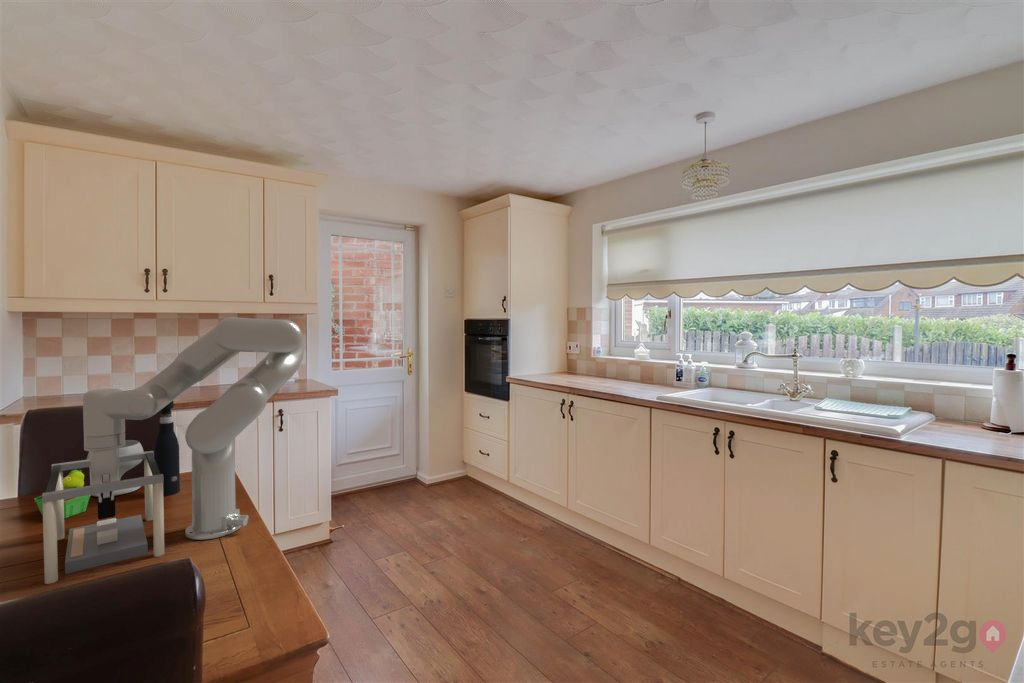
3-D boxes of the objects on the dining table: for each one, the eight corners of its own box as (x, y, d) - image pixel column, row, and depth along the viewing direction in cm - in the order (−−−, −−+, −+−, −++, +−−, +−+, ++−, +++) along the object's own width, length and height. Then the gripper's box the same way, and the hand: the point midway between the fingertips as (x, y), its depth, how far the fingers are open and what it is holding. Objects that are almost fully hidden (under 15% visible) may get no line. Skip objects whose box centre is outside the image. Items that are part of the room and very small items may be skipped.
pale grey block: (97, 539, 111) (96, 532, 111) (117, 535, 113) (117, 528, 113) (97, 545, 110) (97, 537, 109) (117, 540, 112) (117, 533, 112)
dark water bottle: (159, 490, 153) (157, 397, 152) (182, 488, 155) (181, 396, 154) (151, 497, 147) (149, 400, 146) (175, 495, 149) (173, 399, 147)
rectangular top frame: (52, 470, 118) (51, 463, 118) (152, 456, 131) (152, 450, 131) (42, 503, 97) (41, 495, 97) (163, 482, 110) (163, 475, 110)
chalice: (112, 501, 144) (111, 451, 143) (75, 497, 146) (73, 448, 146) (155, 485, 157) (154, 440, 157) (120, 482, 160) (119, 438, 160)
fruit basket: (32, 516, 132) (31, 476, 131) (68, 504, 140) (67, 466, 140) (63, 520, 129) (62, 479, 129) (98, 508, 138) (97, 469, 137)
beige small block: (97, 528, 117) (97, 521, 117) (116, 524, 119) (116, 517, 119) (97, 533, 116) (97, 526, 115) (116, 529, 118) (116, 522, 118)
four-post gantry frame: (53, 538, 119) (52, 470, 118) (154, 517, 132) (152, 456, 131) (44, 585, 98) (42, 503, 97) (164, 554, 111) (163, 482, 110)
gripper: (84, 437, 117) (86, 511, 118) (83, 450, 106) (85, 531, 106) (124, 433, 122) (125, 504, 123) (126, 444, 111) (128, 523, 111)
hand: (106, 516), depth 114 cm, fingers closed
